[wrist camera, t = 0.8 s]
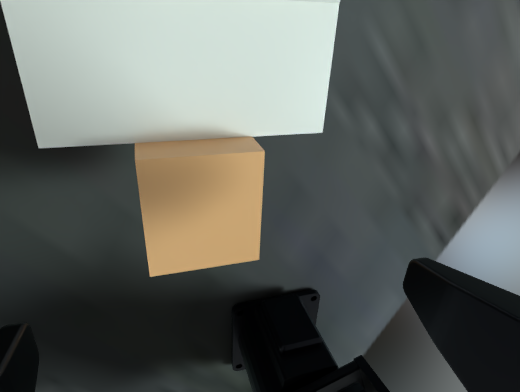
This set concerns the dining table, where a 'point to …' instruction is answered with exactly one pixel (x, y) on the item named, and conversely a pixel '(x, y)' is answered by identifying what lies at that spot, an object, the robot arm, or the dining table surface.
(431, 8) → the dining table surface
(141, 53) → the lid
